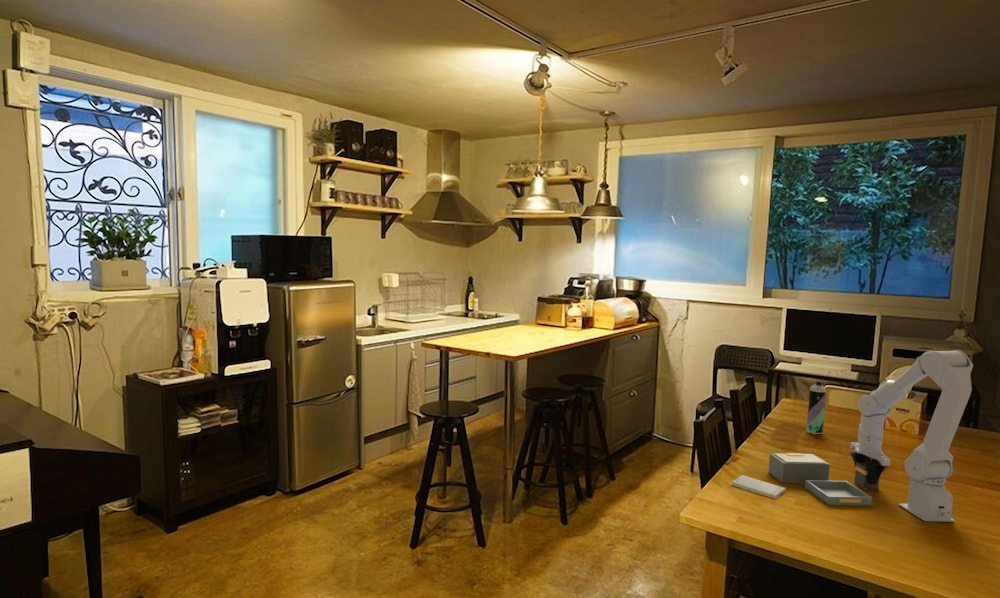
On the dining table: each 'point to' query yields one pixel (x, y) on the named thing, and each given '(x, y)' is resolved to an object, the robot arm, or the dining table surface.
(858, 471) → the block
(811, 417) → the spray can
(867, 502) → the tray
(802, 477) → the pale grey flat box
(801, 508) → the dining table surface
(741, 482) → the hard drive
